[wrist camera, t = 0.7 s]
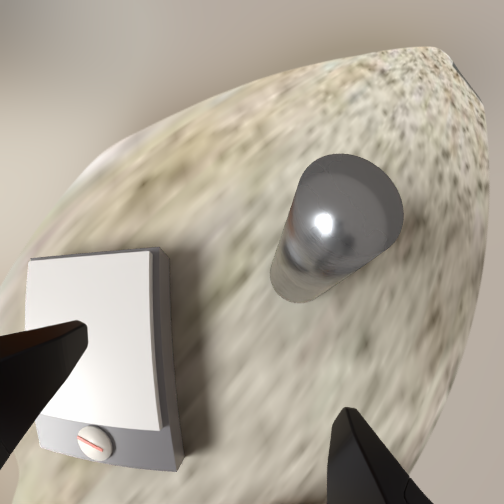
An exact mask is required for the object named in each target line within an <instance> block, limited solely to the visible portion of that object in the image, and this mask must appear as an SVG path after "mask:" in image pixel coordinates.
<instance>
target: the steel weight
mask: <svg viewBox="0 0 504 504" xmlns="http://www.w3.org/2000/svg"><path fill="white" fill-rule="evenodd" d="M403 216H404V213H403V205H402V201H401V198H400V195H399V193H398V190H397V188H396V187H395V185H394V183H393V182H392V181H391V179H390V178H389V177H388V176H387V175H386V174H385V173H384V172H383V171H382V170H381V169H380V168H379V167H377V166H376V165H374V164H373V163H371V162H369V161H368V160H366V159H363V158H361V157H358V156H354V155H349V154H332V155H327V156H324V157H321V158H319V159H317V160H316V161H314V162H313V163H312V164H310V165H309V166H308V167H307V169H306V170H305V171H304V173H303V174H302V176H301V178H300V181H299V184H298V187H297V190H296V193H295V196H294V199H293V202H292V205H291V208H290V211H289V214H288V217H287V220H286V223H285V226H284V229H283V232H282V235H281V238H280V241H279V244H278V247H277V250H276V253H275V256H274V259H273V262H272V265H271V269H270V279H271V283H272V285H273V288H274V289H275V291H276V292H277V293H278V294H279V295H280V296H281V297H282V298H284V299H285V300H287V301H290V302H294V303H305V302H309V301H311V300H313V299H315V298H316V297H318V296H319V295H321V294H322V293H324V292H325V291H327V290H328V289H330V288H331V287H333V286H334V285H336V284H337V283H339V282H340V281H342V280H343V279H345V278H346V277H348V276H349V275H351V274H352V273H354V272H355V271H357V270H358V269H360V268H361V267H362V266H364V265H365V264H367V263H368V262H370V261H371V260H372V259H374V258H375V257H377V256H378V255H379V254H381V253H382V252H384V251H385V250H386V249H388V248H389V247H390V246H391V245H392V244H393V243H394V242H395V241H396V239H397V238H398V236H399V234H400V232H401V229H402V225H403Z"/></svg>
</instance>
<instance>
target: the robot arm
mask: <svg viewBox="0 0 504 504" xmlns="http://www.w3.org/2000/svg"><path fill="white" fill-rule="evenodd" d="M87 347H88V328H87V325H86V324H85V323H83V322H81V321H79V320H73V321H69V322H64V323H60V324H55V325H51V326H46V327H42V328H37V329H32V330H28V331H23V332H18V333H13V334H8V335H3V336H0V469H1V468H2V467H3V465H4V464H5V462H6V461H7V459H8V458H9V456H10V454H11V453H12V452H13V450H14V449H15V447H16V446H17V445H18V443H19V442H20V440H21V439H22V438H23V436H24V435H25V433H26V432H27V431H28V429H29V428H30V427H31V425H32V424H33V423H34V421H35V420H36V419H37V417H38V416H39V415H40V413H41V412H42V411H43V409H44V408H45V407H46V405H47V404H48V403H49V401H50V400H51V399H52V398H53V396H54V395H55V394H56V392H57V391H58V390H59V389H60V387H61V386H62V385H63V384H64V382H65V381H66V380H67V378H68V377H69V375H70V374H71V372H72V371H73V369H74V368H75V366H76V364H77V363H78V361H79V360H80V358H81V357H82V355H83V353H84V352H85V350H86V349H87ZM327 504H433V503H432V502H431V501H430V500H429V499H428V498H427V497H426V496H425V494H424V493H423V492H422V491H421V490H420V489H419V488H418V486H417V485H416V484H415V483H414V481H413V480H412V479H411V478H409V475H408V474H407V473H406V471H405V470H404V469H403V468H402V466H401V465H400V464H399V463H398V461H397V460H396V459H395V458H394V456H393V455H392V454H391V453H390V451H389V450H388V449H387V447H386V446H385V445H384V444H383V442H382V441H381V440H380V439H379V437H378V436H377V435H376V433H375V432H374V431H373V430H372V428H371V427H370V426H369V424H368V423H367V422H366V421H365V419H364V418H363V417H362V415H361V414H360V413H359V412H358V410H357V409H355V408H350V407H344V408H343V409H342V410H341V412H340V413H339V415H338V416H337V418H336V419H335V421H334V423H333V425H332V431H331V440H330V448H329V456H328V465H327Z"/></svg>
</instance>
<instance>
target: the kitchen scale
mask: <svg viewBox="0 0 504 504" xmlns="http://www.w3.org/2000/svg"><path fill="white" fill-rule="evenodd" d="M73 320H79V321H81V322H83V323H85V324H86V325H87V328H88V347H87V349H86V350H85V352H84V353H83V355H82V357H81V358H80V360H79V361H78V363H77V364H76V366H75V368H74V369H73V371H72V372H71V374H70V375H69V377H68V378H67V380H66V381H65V382H64V384H63V385H62V386H61V387H60V389H59V390H58V391H57V392H56V394H55V395H54V396H53V398H52V399H51V400H50V401H49V403H48V404H47V405H46V407H45V408H44V409H43V411H42V412H41V413H40V415H39V416H38V417H37V419H36V420H35V423H36V428H37V433H38V438H39V443H40V447H41V448H44V449H47V450H50V451H54V452H57V453H61V454H65V455H68V456H72V457H77V458H81V459H85V460H90V461H95V462H100V463H105V464H111V465H117V466H123V467H131V468H138V469H147V470H158V471H172V472H177V471H178V469H179V467H180V465H181V463H182V461H183V460H184V458H185V456H184V449H183V442H182V435H181V428H180V420H179V411H178V403H177V393H176V383H175V372H174V359H173V345H172V328H171V306H170V263H169V258H168V256H167V255H166V254H165V253H164V252H163V251H162V249H161V248H160V247H153V248H140V249H128V250H117V251H105V252H94V253H82V254H71V255H60V256H50V257H39V258H31V261H29V263H28V273H27V286H26V304H25V331H28V330H32V329H37V328H42V327H46V326H51V325H55V324H60V323H64V322H69V321H73Z"/></svg>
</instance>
